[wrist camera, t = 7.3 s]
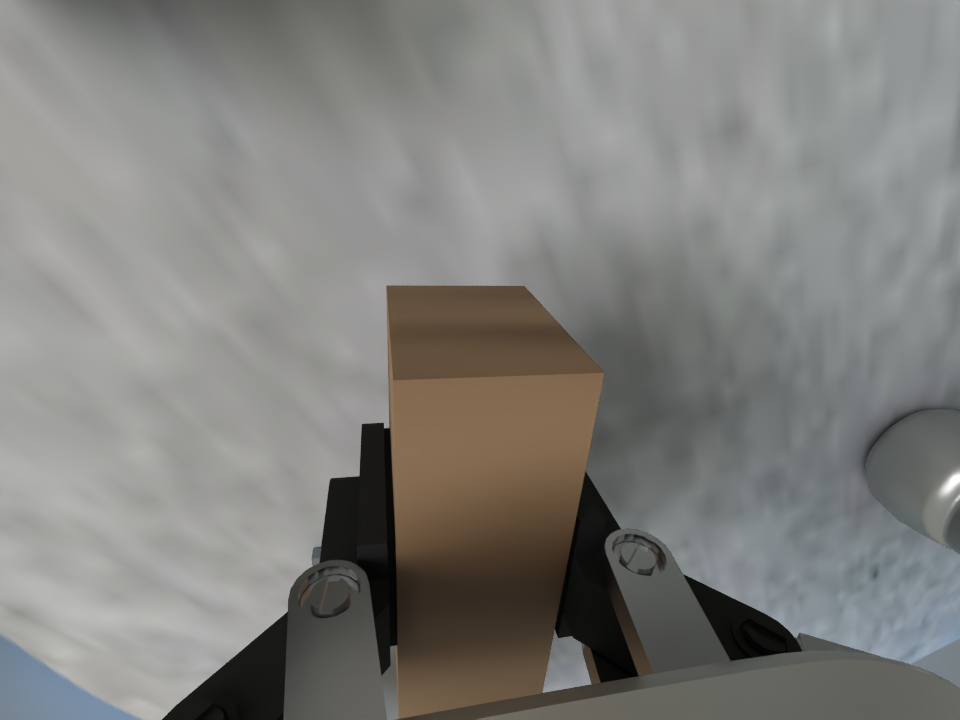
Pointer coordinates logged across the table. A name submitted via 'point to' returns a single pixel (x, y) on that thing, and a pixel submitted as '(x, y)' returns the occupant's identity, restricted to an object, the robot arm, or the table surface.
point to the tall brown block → (481, 489)
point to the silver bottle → (920, 474)
